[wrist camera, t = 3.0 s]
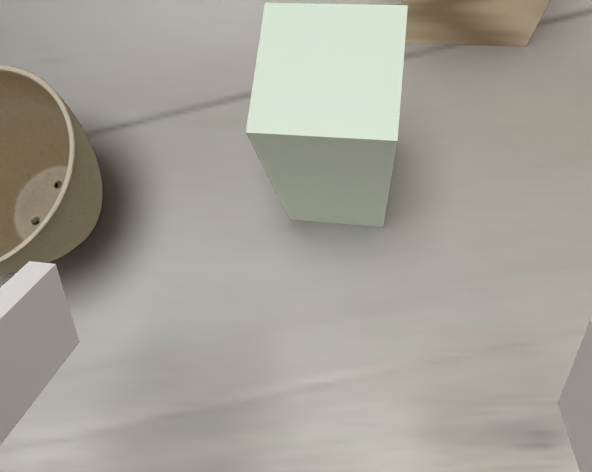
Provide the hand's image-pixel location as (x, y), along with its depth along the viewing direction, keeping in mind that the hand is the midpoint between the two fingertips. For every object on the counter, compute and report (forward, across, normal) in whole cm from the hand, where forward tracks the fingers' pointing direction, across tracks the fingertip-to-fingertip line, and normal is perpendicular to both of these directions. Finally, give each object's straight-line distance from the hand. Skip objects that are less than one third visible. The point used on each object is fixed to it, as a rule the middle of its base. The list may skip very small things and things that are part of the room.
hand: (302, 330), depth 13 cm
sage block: (+16, 0, -3) cm, 16 cm away
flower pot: (+14, -16, -5) cm, 22 cm away
